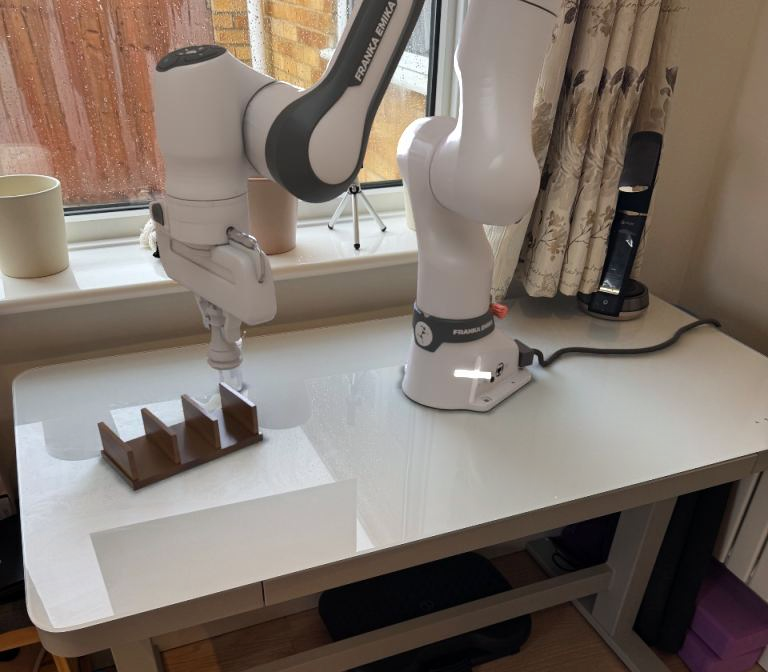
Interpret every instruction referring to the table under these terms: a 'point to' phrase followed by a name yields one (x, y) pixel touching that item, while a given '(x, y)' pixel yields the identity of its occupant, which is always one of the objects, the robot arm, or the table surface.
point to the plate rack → (182, 439)
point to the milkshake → (233, 373)
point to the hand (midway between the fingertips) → (222, 334)
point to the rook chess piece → (221, 343)
